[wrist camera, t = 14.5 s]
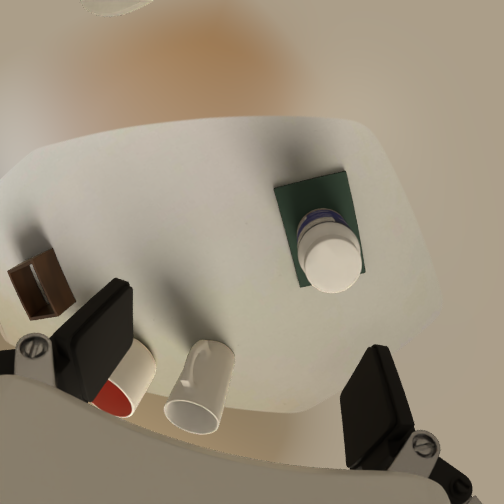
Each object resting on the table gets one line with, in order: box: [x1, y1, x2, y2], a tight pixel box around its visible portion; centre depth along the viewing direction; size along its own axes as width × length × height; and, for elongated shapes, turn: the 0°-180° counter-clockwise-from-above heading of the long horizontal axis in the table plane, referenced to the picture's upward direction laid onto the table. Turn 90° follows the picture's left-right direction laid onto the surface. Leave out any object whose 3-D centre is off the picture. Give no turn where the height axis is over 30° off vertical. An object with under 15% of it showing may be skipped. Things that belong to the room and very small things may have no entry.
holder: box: [7, 248, 76, 321], centre depth 39 cm, size 10×10×5 cm
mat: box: [274, 171, 365, 288], centre depth 32 cm, size 12×8×1 cm, turn 17°
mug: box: [164, 340, 235, 434], centre depth 34 cm, size 10×7×12 cm, turn 3°
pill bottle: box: [297, 208, 362, 293], centre depth 27 cm, size 6×6×10 cm
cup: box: [91, 338, 156, 418], centre depth 39 cm, size 10×10×10 cm
